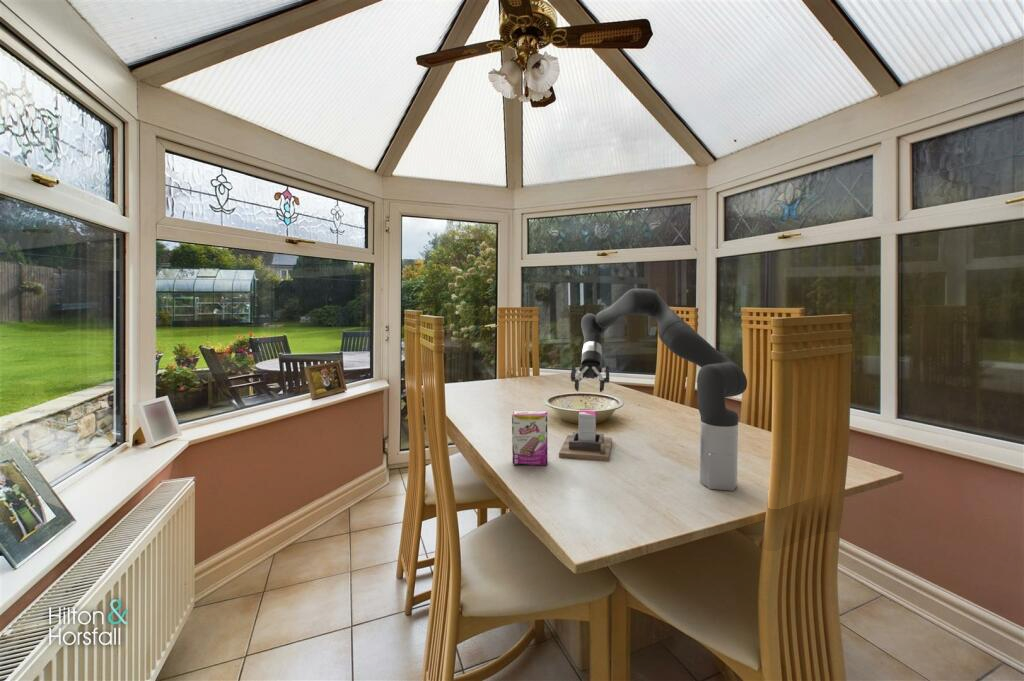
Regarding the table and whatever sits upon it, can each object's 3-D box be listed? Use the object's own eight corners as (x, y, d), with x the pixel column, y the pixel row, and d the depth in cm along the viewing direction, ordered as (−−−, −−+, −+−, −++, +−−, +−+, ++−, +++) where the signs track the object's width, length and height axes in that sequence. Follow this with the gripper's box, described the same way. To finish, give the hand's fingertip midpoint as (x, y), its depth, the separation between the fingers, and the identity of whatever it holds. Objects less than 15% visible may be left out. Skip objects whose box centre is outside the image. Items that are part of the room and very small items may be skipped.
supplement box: (595, 447, 145) (595, 414, 144) (577, 446, 146) (577, 414, 145) (596, 442, 151) (596, 410, 150) (579, 441, 152) (579, 409, 151)
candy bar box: (512, 465, 135) (511, 414, 133) (513, 460, 140) (512, 410, 138) (548, 466, 134) (547, 414, 132) (548, 460, 138) (547, 410, 137)
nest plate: (608, 461, 137) (608, 447, 136) (559, 457, 141) (558, 443, 141) (611, 441, 156) (611, 429, 156) (568, 438, 160) (567, 427, 160)
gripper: (572, 349, 166) (568, 384, 156) (610, 349, 162) (608, 385, 152) (574, 361, 172) (570, 395, 162) (610, 361, 168) (609, 396, 158)
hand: (588, 390), depth 157 cm, fingers open, 8 cm apart
